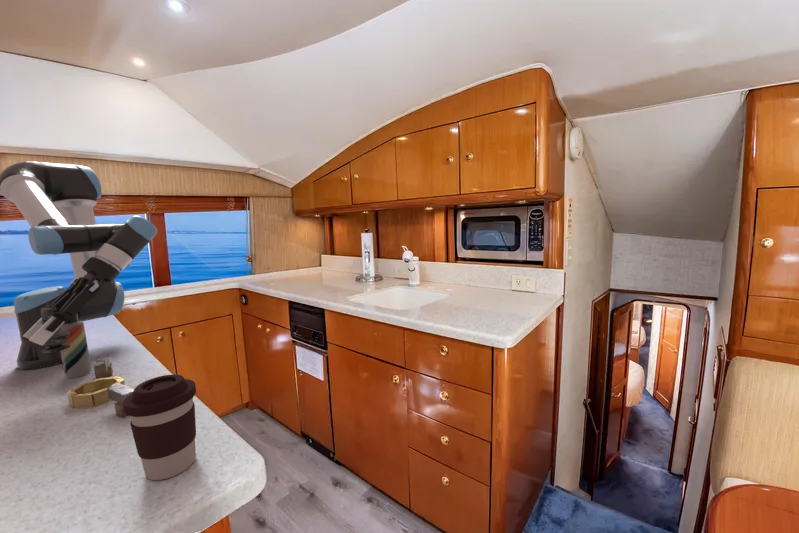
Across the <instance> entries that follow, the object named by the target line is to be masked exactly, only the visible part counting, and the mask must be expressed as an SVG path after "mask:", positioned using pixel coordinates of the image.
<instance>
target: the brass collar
mask: <svg viewBox="0 0 799 533" xmlns="http://www.w3.org/2000/svg"><path fill="white" fill-rule="evenodd" d="M119 383H120V384H123V385H125V386H126V384H125V379H124V378H123V377H121V376H119V375H117V376H116V375H115V376H109V377H105V378H100V379H96V378H95V379H93V380H90V381H88V382H87V381H86V382H84V383H81V384H78V385H76V386H75V387H73V388H71V389H70V390H68V391H67V392H66V397H67V402H68V406H69V407H70V408H72V409H73V410H78V409H79V410H80V409H87V408H94V407H98V406H100V405H102V404H106V403H108V402H111V401H113V400H112V399H110V398H109V397H108V391H107V388H108V387H111V386H113V385H116V384H119Z"/></svg>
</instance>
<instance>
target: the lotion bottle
mask: <svg viewBox="0 0 799 533" xmlns="http://www.w3.org/2000/svg"><path fill="white" fill-rule="evenodd" d="M61 329H62V330H63V331H68V332H70V333H69V334H68V335H69V337H68V340H67V341H66V342H65V343H63V344H68V345H71V346H70V347H69V348H67V349H64V350H61V357H62V362H63V363H62V366H63V367H62V368H63V371H64V372H63V373H64V376H65V378H66V379H74V378H80V377H83V376H85V375H88V374H90V373H91V372H92V364H91V359H90V352H89V345H88V341H87V335H86V329H85V324H84V321H78V314H76V315H75V316H74V317H73V319H71V320H68V321H66V322H65V321H64V324H63V325H62V326H61Z"/></svg>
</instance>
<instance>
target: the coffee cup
mask: <svg viewBox="0 0 799 533" xmlns="http://www.w3.org/2000/svg"><path fill="white" fill-rule="evenodd" d="M133 389H134V391H133V393H132V394H130V395H129V396H127V397H126V398H125V400H124V401H123V409H124V413H125V414H126V415H128V416H127V417H129V418H130V422H129V426H130V428H131V433H132V437H133V440H134V444H135V447H136V452H137V456H139V458H140V461H141V465H142V469H143V472H144V475H145V477H146V478H147V479H149V480H152V481H162V480H163V481H164V480H166V479H169V478H170V479H171V478H173V477H176V476H178V475H180V474H181V473H183V472H185V471H186V470H187V469H188V468H190V466H191V465H193V463H194V461H195V460H196V455H197V454H196V451H197V450H196V436H197V429H196V428H197V427H196V425H197V424H196V407H195V406H196V405H195V402H194V397H195V395H196V393H197V387H196V383H195V381H193V380H192V379H188V378H184V376H183V375H182V374H174V373H173V374H164V375H159V376H156V377H153V378H149V379H148V380H145V381H143V382H141V383H139V384H138V385H136V386H135V387H134V388H133Z"/></svg>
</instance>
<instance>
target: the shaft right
mask: <svg viewBox="0 0 799 533" xmlns="http://www.w3.org/2000/svg"><path fill="white" fill-rule="evenodd" d="M134 389H135V388H131V387H130V386H127V385H126V384H125V385H123V384H120V383H119V384H116V385H113V386H111V387H108V388H107V391H108V397H109V398H110V399H112V400H111V401H115V403H113V404H114V408H115V414H116V416H117V417H119V418H121V419H125V418H127V417H129V416H128V415H126V414H125V413H124V409H123V401H124V400H125V398H126V397H127V396H129V395H130V394H132V393H133V391H134Z"/></svg>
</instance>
